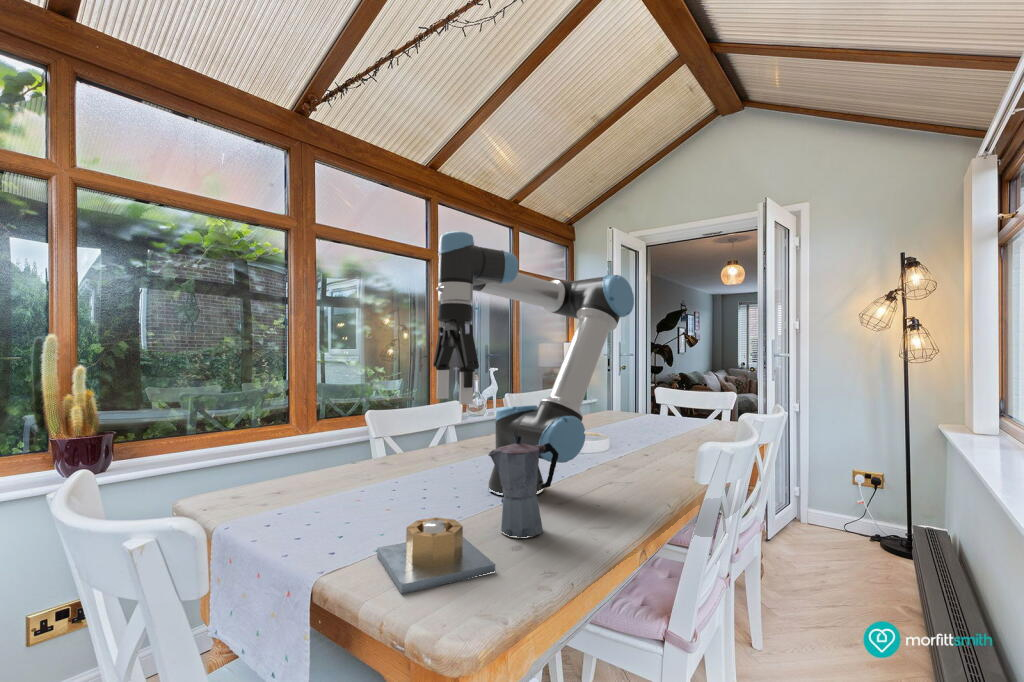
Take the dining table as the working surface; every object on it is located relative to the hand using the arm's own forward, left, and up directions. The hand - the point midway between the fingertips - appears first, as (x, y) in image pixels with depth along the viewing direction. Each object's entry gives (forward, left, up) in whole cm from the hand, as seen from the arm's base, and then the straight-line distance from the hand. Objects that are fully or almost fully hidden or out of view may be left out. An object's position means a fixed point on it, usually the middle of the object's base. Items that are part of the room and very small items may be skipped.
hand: (453, 401), depth 105 cm
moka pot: (-12, +10, -27) cm, 31 cm away
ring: (+10, +17, -25) cm, 32 cm away
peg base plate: (+10, +17, -27) cm, 33 cm away
